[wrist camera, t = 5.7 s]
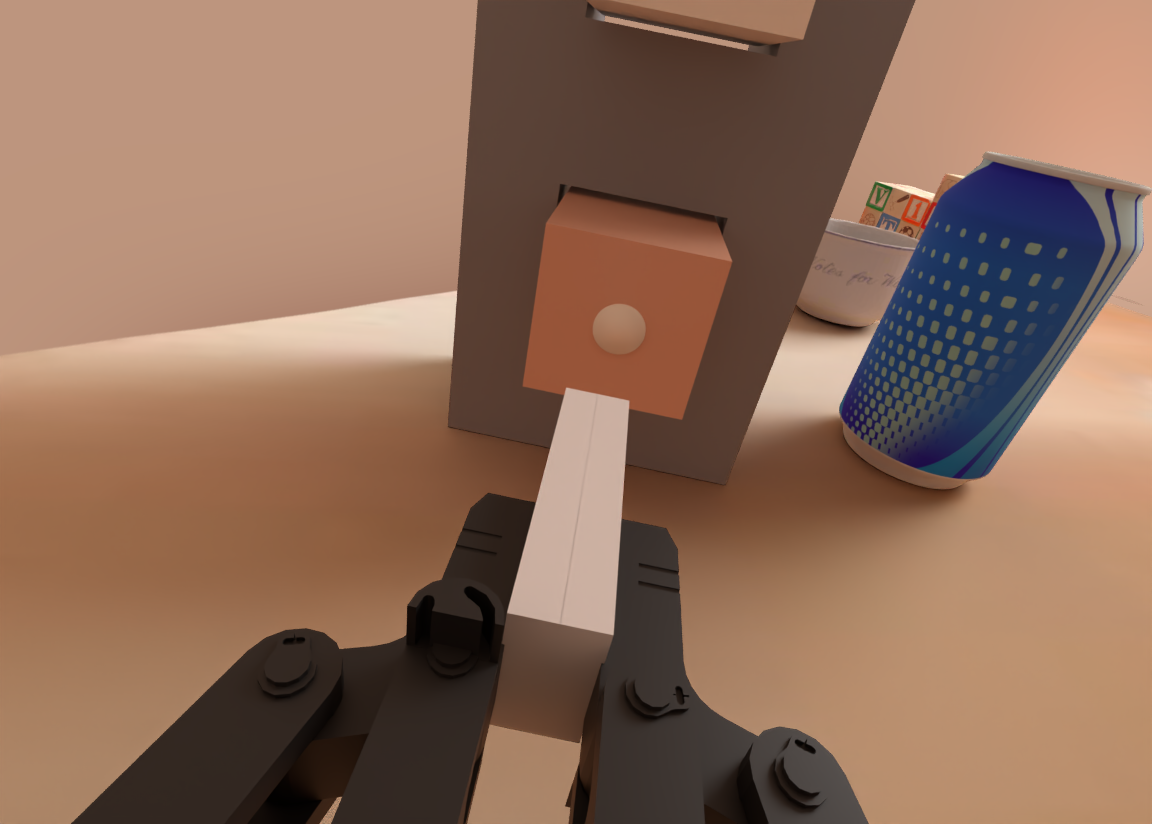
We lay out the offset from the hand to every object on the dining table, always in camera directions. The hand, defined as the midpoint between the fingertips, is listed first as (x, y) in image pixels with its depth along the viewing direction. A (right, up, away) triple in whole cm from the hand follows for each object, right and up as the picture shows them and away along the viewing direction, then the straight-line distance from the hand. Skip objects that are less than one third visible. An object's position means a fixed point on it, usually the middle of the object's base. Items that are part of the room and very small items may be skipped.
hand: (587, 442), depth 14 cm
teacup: (+25, +9, +41) cm, 49 cm away
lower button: (+1, +3, +11) cm, 11 cm away
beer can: (+19, -2, +21) cm, 28 cm away
